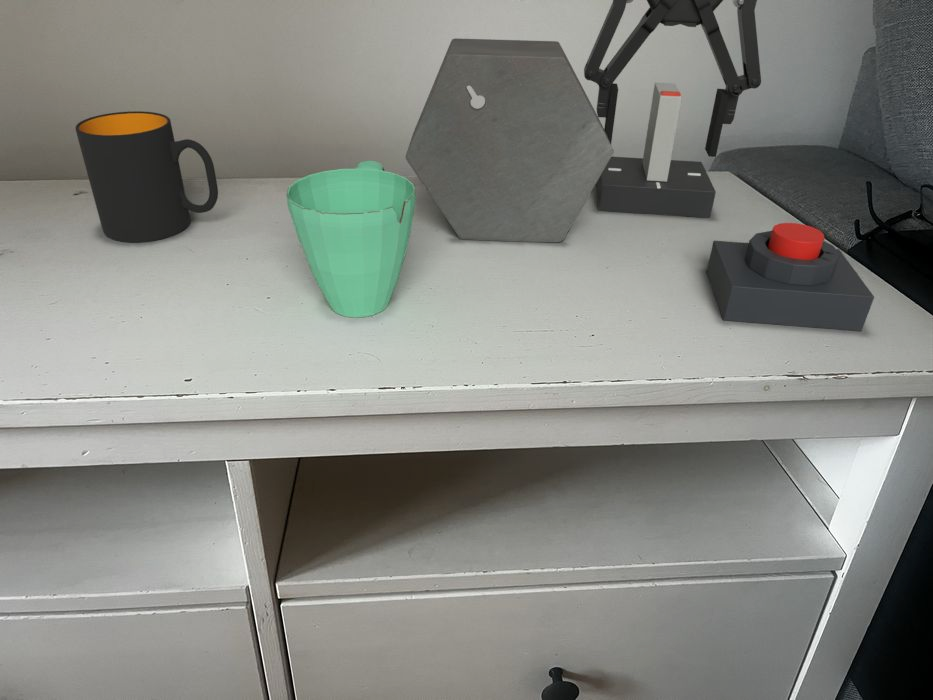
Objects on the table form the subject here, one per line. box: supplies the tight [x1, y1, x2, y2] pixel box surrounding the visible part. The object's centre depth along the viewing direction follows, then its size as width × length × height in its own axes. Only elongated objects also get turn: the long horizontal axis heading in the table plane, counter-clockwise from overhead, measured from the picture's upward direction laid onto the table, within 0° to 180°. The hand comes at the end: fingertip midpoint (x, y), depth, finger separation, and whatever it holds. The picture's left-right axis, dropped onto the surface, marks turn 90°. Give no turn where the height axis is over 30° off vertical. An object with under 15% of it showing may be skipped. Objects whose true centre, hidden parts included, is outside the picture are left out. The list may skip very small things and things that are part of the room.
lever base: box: [596, 156, 717, 219], centre depth 82 cm, size 12×10×3 cm
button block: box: [706, 230, 875, 332], centre depth 61 cm, size 11×9×5 cm
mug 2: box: [285, 160, 416, 319], centre depth 60 cm, size 15×10×10 cm
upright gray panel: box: [642, 82, 683, 182], centre depth 79 cm, size 6×2×9 cm, turn 173°
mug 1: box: [75, 110, 219, 244], centre depth 70 cm, size 8×12×10 cm
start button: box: [768, 222, 825, 260], centre depth 60 cm, size 4×4×2 cm
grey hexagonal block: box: [405, 37, 615, 243], centre depth 70 cm, size 17×8×21 cm
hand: (657, 149), depth 80 cm, fingers open, 11 cm apart
